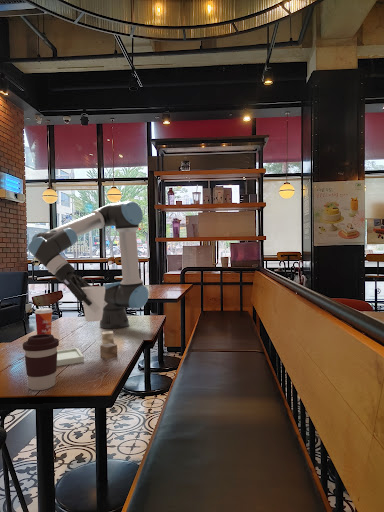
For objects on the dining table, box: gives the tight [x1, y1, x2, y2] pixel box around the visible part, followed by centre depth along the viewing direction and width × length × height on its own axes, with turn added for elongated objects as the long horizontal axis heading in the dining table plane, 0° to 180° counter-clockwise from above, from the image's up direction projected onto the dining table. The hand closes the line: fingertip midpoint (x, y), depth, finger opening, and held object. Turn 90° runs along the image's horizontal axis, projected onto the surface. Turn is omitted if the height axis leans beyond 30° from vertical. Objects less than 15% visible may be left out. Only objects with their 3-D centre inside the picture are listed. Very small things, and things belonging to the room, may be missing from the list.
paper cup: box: [34, 307, 53, 335], centre depth 162 cm, size 8×8×14 cm
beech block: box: [101, 330, 115, 345], centre depth 155 cm, size 4×4×4 cm
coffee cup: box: [22, 333, 60, 391], centre depth 106 cm, size 10×10×15 cm
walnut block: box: [99, 343, 118, 360], centre depth 134 cm, size 4×4×4 cm
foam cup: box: [81, 285, 105, 323], centre depth 141 cm, size 10×9×13 cm
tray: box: [57, 347, 85, 367], centre depth 131 cm, size 13×13×2 cm
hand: (101, 308), depth 141 cm, fingers closed on foam cup, 9 cm apart
